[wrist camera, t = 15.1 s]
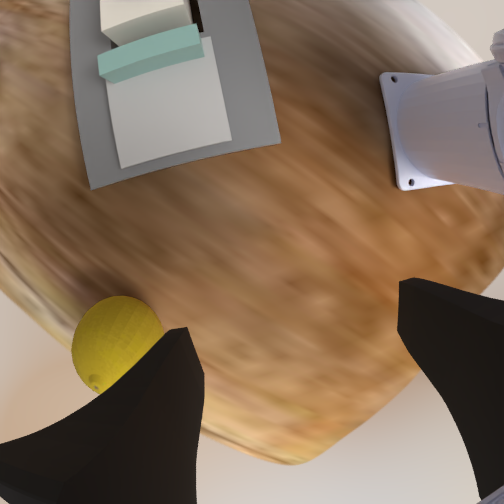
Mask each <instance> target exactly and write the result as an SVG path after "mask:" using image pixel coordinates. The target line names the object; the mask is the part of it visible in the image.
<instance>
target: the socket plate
mask: <svg viewBox="0 0 504 504" xmlns="http://www.w3.org/2000/svg"><path fill="white" fill-rule="evenodd" d="M198 5H199V10H200V15H201V19H202V24H203V29H204V32H201V33H200V37H201V38H205V37H209V36H211V41H212V45H213V50H214V55H215V60H216V65H217V69H218V74H219V79H220V84H221V89H222V94H223V98H224V103H225V108H226V113H227V118H228V123H229V127H230V132H231V137H232V141H228V142H223V143H219V144H214V145H210V146H205V147H201V148H197V149H193V150H189V151H185V152H181V153H177V154H173V155H169V156H165V157H162V158H158V159H155V160H151V161H148V162H144V163H141V164H137V165H134V166H131V167H128V168H123V169H121V165H120V161H119V156H118V151H117V146H116V141H115V136H114V130H113V125H112V119H111V113H110V107H109V100H108V94H107V86H106V79H105V78H103V77H101V76H99V67H98V57H97V56H98V55H100V54H102V53H105V52H107V51H110V50H112V49H115V48H117V47H119V46H118V45H117V44H116V43H114V42H113V41H112V40H111V39H110V38H109V37H107V36H106V35H105V34H104V33H103V32H101V17H100V0H70V53H71V69H72V80H73V90H74V99H75V107H76V114H77V121H78V128H79V134H80V140H81V145H82V151H83V156H84V161H85V166H86V170H87V175H88V179H89V184H90V188H91V190H94V189H97V188H101V187H104V186H108V185H111V184H114V183H117V182H120V181H124V180H127V179H130V178H134V177H137V176H140V175H144V174H147V173H151V172H154V171H158V170H162V169H166V168H169V167H173V166H177V165H181V164H185V163H189V162H193V161H197V160H202V159H206V158H210V157H215V156H220V155H224V154H229V153H234V152H239V151H244V150H249V149H254V148H260V147H265V146H271V145H277V144H280V143H281V138H280V133H279V128H278V124H277V119H276V114H275V109H274V104H273V100H272V95H271V90H270V86H269V81H268V77H267V73H266V68H265V64H264V60H263V55H262V51H261V47H260V43H259V39H258V35H257V31H256V27H255V23H254V19H253V15H252V12H251V8H250V4H249V0H198Z"/></svg>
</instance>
